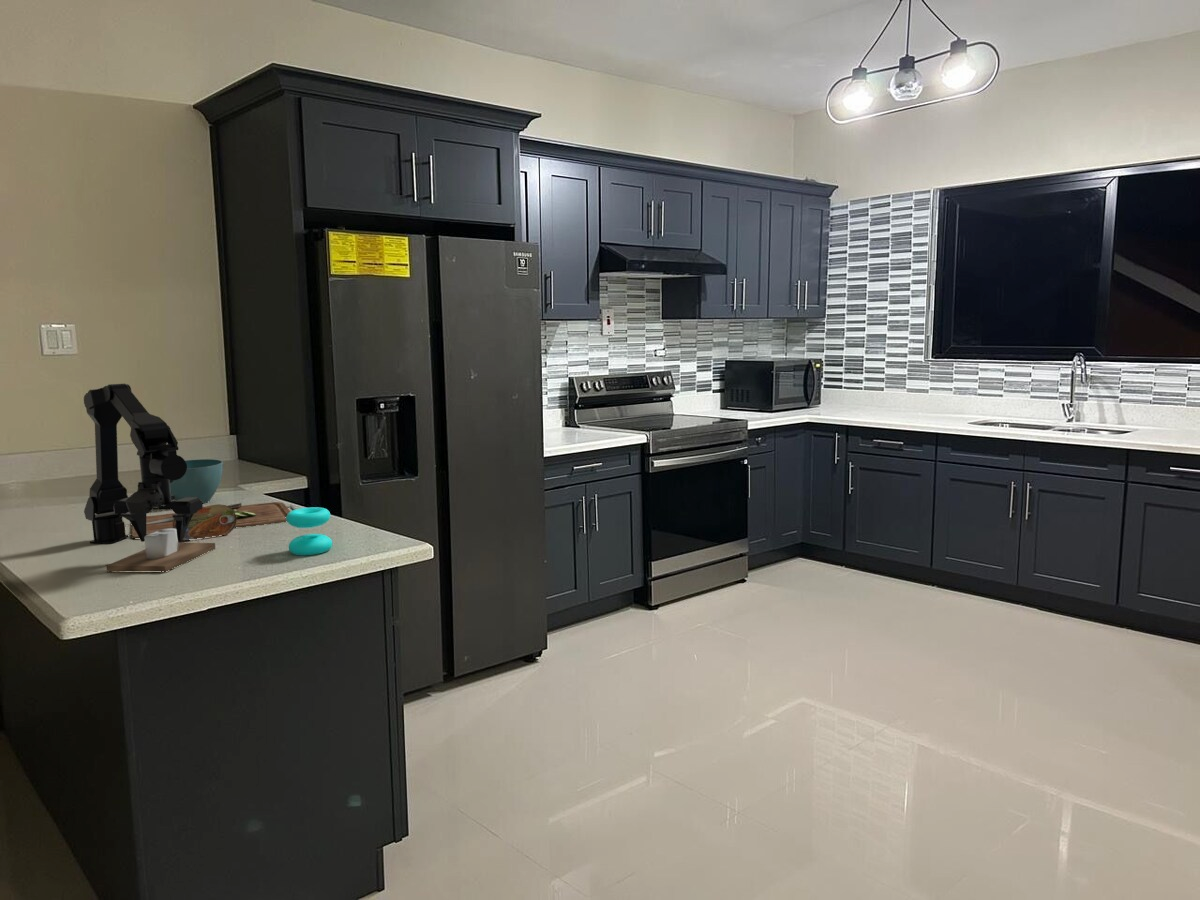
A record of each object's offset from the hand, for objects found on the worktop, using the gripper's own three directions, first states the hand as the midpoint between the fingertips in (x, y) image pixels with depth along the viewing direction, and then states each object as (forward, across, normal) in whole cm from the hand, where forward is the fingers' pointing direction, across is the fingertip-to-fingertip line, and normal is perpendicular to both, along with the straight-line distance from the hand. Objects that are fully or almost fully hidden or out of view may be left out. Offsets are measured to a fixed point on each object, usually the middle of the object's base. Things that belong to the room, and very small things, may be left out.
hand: (161, 541), depth 200 cm
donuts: (+5, +32, +9) cm, 34 cm away
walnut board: (+4, 0, 0) cm, 4 cm away
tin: (+5, -2, +21) cm, 22 cm away
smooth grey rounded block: (+3, 0, 0) cm, 3 cm away
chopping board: (+5, -11, +39) cm, 41 cm away
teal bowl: (+5, -31, +63) cm, 70 cm away
